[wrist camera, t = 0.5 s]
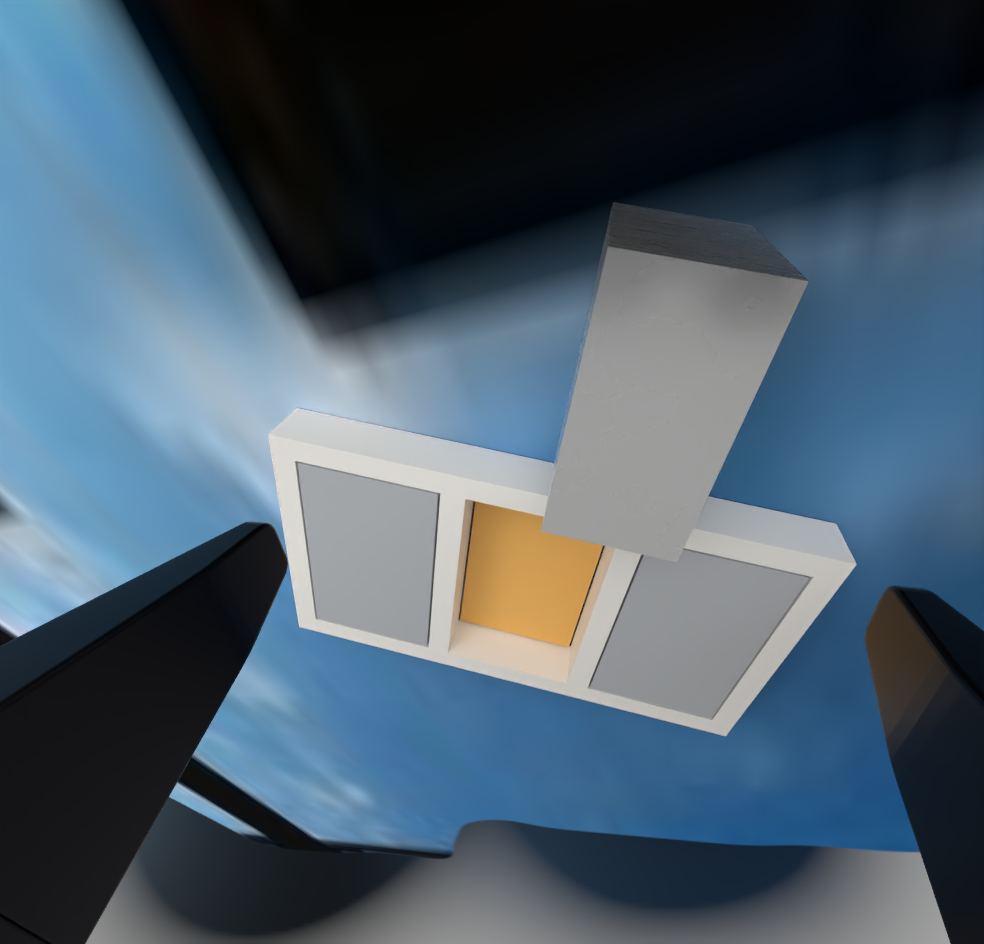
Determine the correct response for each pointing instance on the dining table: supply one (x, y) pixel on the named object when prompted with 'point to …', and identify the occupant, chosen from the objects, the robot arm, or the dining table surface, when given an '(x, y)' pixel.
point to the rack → (539, 575)
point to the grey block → (665, 375)
